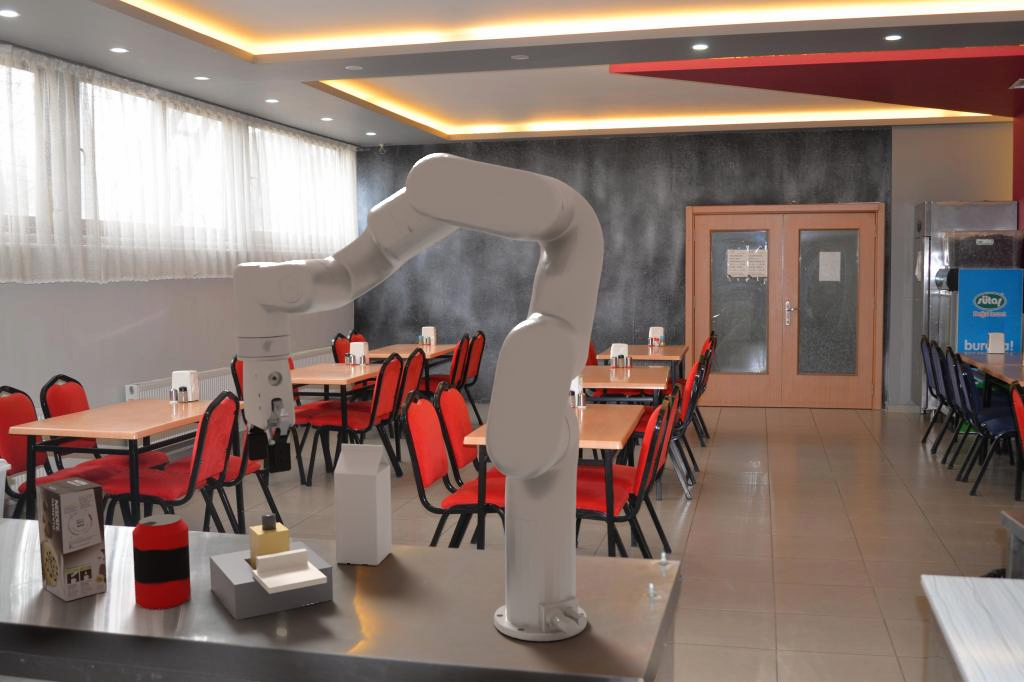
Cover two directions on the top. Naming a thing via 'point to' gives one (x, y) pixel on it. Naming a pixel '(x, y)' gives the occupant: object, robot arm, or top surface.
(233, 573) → the socket housing
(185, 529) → the soda can
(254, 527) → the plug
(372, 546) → the milk carton
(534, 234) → the robot arm
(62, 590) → the coffee box
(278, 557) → the plate
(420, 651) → the top surface
